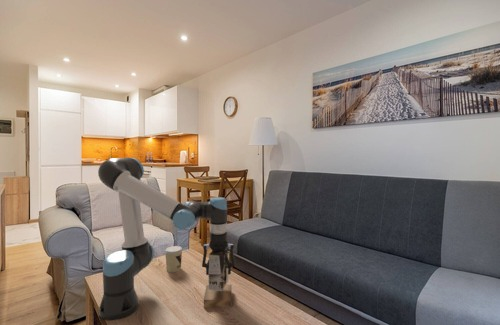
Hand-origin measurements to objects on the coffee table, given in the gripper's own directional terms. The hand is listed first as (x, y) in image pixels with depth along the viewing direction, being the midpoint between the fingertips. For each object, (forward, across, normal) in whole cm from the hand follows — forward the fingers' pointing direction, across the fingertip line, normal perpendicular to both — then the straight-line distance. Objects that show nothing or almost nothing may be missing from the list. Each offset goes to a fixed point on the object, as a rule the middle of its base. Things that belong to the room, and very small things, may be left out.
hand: (218, 281), depth 119 cm
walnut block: (+9, 0, 0) cm, 9 cm away
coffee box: (+2, 0, 0) cm, 2 cm away
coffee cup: (+9, -27, +31) cm, 42 cm away
